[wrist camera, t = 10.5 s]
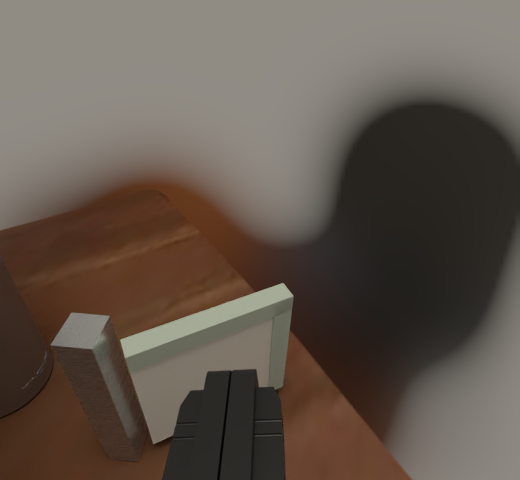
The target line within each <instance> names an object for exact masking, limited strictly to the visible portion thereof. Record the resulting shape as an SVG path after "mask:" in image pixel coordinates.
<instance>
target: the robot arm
mask: <svg viewBox="0 0 520 480" xmlns="http://www.w3.org/2000/svg"><path fill="white" fill-rule="evenodd" d="M52 367H53V357H52V354H51V352H50V350H49V348H48V346H47V344H46V342H45V340H44V338H43V336H42V334H41V333H40V331H39V328H38V326H37V325H36V323H35V321H34V319H33V317H32V315H31V313H30V311H29V309H28V307H27V306H26V304H25V302H24V300H23V298H22V296H21V294H20V292H19V290H18V288H17V287H16V285H15V283H14V281H13V279H12V277H11V275H10V273H9V271H8V270H7V268H6V266H5V264H4V262H3V260H2V258H1V256H0V418H1V417H3V416H5V415H8V414H10V413H12V412H14V411H15V410H17V409H19V408H20V407H22V406H24V405H25V404H26V403H27V402H29V401H30V400H31V399H32V398H33V397H34V396H35V395H36V394H37V393H38V392H39V391H40V390H41V389H42V388H43V386H44V385H45V383H46V382H47V380H48V378H49V376H50V374H51V371H52ZM162 480H286V476H285V450H284V429H283V419H282V408H281V401H280V399H279V397H278V395H277V393H276V391H275V389H274V387H259V384H258V377H257V370H256V369H244V370H233V371H231V370H226V371H208V372H207V375H206V379H205V384H204V390H191V391H190V392H189V394H188V395H187V396H186V398H185V399H184V401H183V402H182V404H181V405H180V409H179V413H178V417H177V421H176V426H175V429H174V433H173V440H172V441H171V445H170V449H169V454H168V458H167V462H166V466H165V470H164V474H163V478H162Z"/></svg>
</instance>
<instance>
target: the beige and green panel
mask: <svg viewBox="0 0 520 480" xmlns="http://www.w3.org/2000/svg"><path fill="white" fill-rule="evenodd" d="M292 304H293V295H292V294H291V293H290V291H289V290H288V289H287V287H286V286H285V285H284V284H283V283H282V284H279V285H276V286H273V287H271V288H268V289H265V290H262V291H259V292H256V293H253V294H250V295H247V296H245V297H242V298H239V299H236V300H233V301H230V302H227V303H224V304H222V305H219V306H216V307H213V308H210V309H207V310H204V311H201V312H199V313H196V314H193V315H190V316H187V317H184V318H181V319H178V320H176V321H173V322H170V323H167V324H164V325H161V326H158V327H156V328H153V329H150V330H147V331H144V332H141V333H138V334H135V335H133V336H130V337H127V338H124V339H121V344H122V348H123V352H124V356H125V359H126V362H127V365H128V368H129V372H130V374H131V377H132V380H133V383H134V386H135V389H136V392H137V396H138V399H139V402H140V405H141V408H142V411H143V414H144V417H145V420H146V423H147V426H148V429H149V432H150V435H151V438H152V441H153V444H155V443H158V442H160V441H162V440H164V439H166V438H168V437H170V436H173V433H174V429H175V426H176V421H177V417H178V413H179V409H180V405H181V404H182V402H183V401H184V399H185V398H186V396H187V395H188V394H189V392H190V391H191V390H204V384H205V379H206V375H207V372H208V371H226V370H231V371H233V370H244V369H256V370H257V377H258V384H259V387H274V389H275V390H276V389H278V388H280V387H283V381H284V372H285V364H286V355H287V347H288V338H289V330H290V321H291V313H292Z"/></svg>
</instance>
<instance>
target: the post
mask: <svg viewBox="0 0 520 480" xmlns="http://www.w3.org/2000/svg"><path fill="white" fill-rule="evenodd" d="M51 347H52V349H53V351H54V353H55V355H56V357H57V359H58V361H59V363H60V365H61V367H62V369H63V371H64V373H65V375H66V376H67V378H68V380H69V382H70V384H71V386H72V388H73V390H74V392H75V394H76V396H77V398H78V400H79V402H80V404H81V406H82V408H83V409H84V411H85V413H86V415H87V417H88V419H89V421H90V423H91V425H92V427H93V429H94V431H95V433H96V435H97V437H98V439H99V441H100V442H101V444H102V446H103V448H104V450H105V452H106V454H107V456H108V458H109V459H115V460H124V461H132V462H138V461H139V458H140V455H141V452H142V449H143V446H144V443H145V440H146V436H147V433H148V430H147V427H146V424H145V421H144V418H143V415H142V412H141V409H140V406H139V403H138V400H137V397H136V394H135V391H134V388H133V385H132V382H131V379H130V376H129V373H128V370H127V367H126V364H125V361H124V358H123V355H122V352H121V349H120V346H119V343H118V340H117V336H116V333H115V330H114V327H113V324H112V321H111V318H110V316H103V315H92V314H81V313H71V314H70V316H69V317H68V319H67V320H66V322H65V323H64V325H63V327H62V328H61V330H60V331H59V333H58V334H57V336H56V337H55V339H54V340H53V342H52V344H51Z"/></svg>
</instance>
